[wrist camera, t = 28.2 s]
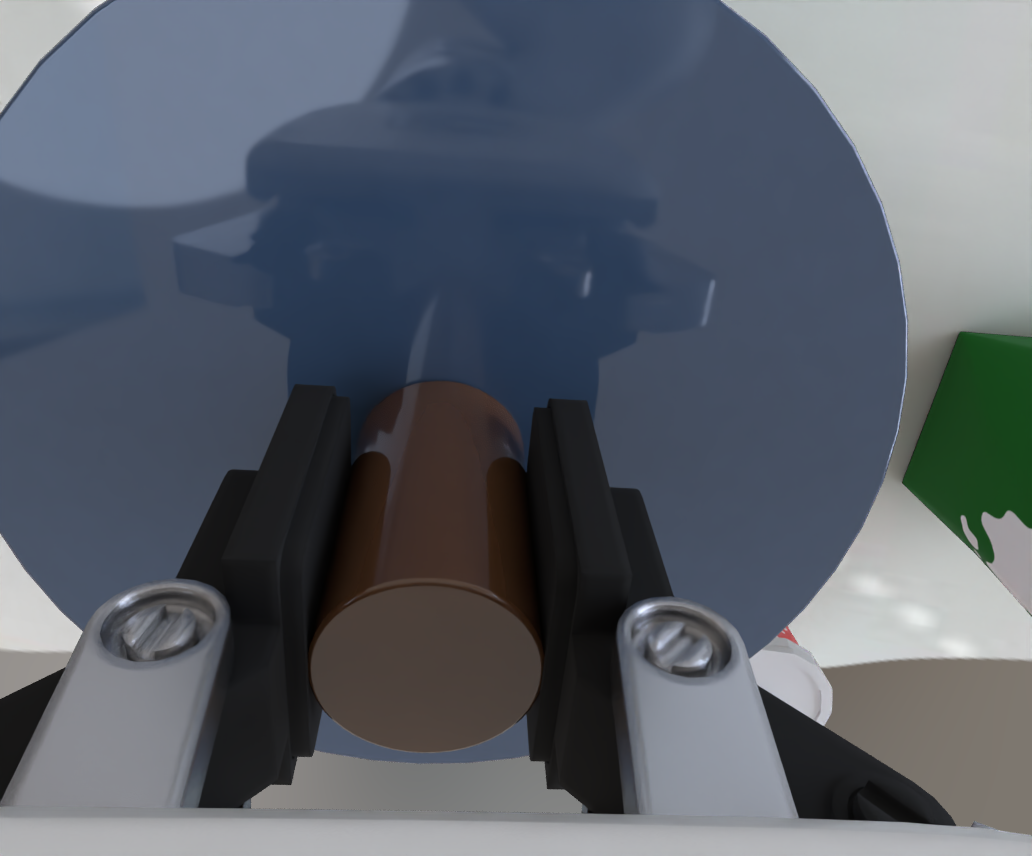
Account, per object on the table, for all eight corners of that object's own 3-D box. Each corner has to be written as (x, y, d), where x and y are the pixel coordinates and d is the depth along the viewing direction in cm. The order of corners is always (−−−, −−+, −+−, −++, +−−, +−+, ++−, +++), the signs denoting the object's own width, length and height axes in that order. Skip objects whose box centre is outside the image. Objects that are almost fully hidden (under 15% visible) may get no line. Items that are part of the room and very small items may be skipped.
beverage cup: (661, 483, 35) (768, 755, 23) (781, 527, 37) (941, 804, 24) (596, 588, 38) (661, 883, 25) (710, 625, 39) (824, 920, 27)
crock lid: (-139, -166, 10) (-797, -304, 5) (1020, -22, 11) (1481, -8, 6) (63, 705, 17) (-111, 1023, 12) (755, 729, 18) (864, 1024, 13)
